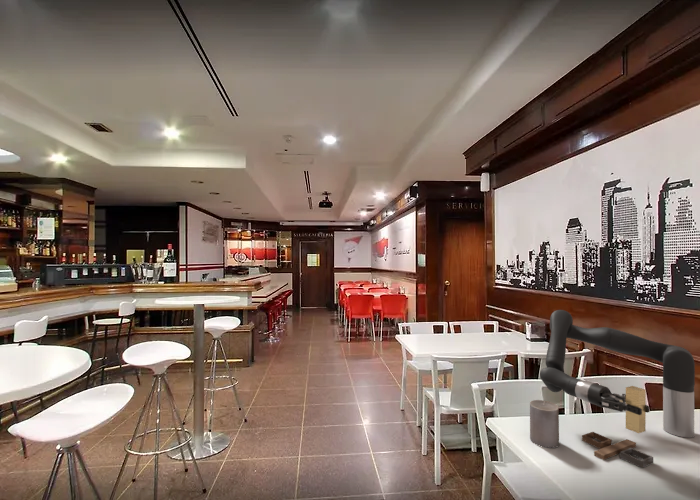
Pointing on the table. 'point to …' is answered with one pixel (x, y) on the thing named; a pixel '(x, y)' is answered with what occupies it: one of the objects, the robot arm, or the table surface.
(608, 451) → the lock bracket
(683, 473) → the table surface
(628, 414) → the tan wooden block
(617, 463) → the table surface
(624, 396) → the robot arm
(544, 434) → the pillar candle
